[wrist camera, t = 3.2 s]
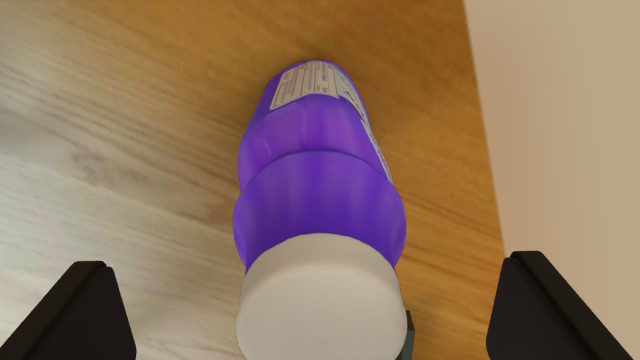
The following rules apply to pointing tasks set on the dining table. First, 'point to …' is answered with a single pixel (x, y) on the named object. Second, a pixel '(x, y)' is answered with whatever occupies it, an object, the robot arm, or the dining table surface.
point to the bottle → (317, 225)
